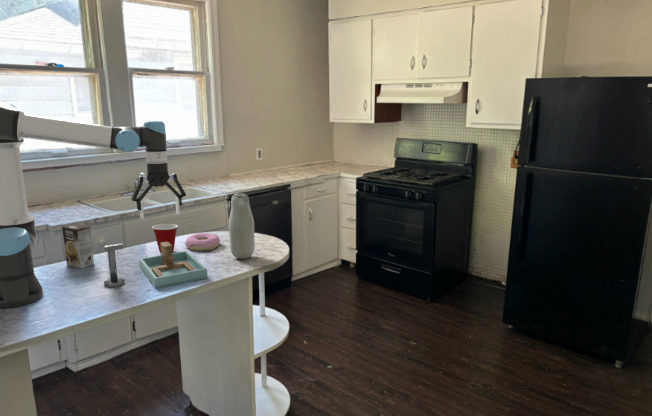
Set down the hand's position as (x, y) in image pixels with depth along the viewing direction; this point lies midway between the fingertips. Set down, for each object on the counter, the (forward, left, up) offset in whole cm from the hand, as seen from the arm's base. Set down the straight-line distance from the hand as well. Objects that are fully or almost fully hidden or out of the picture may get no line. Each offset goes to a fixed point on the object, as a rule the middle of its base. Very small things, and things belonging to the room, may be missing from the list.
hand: (160, 216), depth 187 cm
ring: (+1, -8, -20) cm, 22 cm away
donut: (+22, +18, -21) cm, 36 cm away
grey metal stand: (-20, -8, -21) cm, 30 cm away
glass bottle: (+31, -6, -21) cm, 38 cm away
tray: (+1, -8, -21) cm, 23 cm away
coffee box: (-28, +21, -21) cm, 41 cm away
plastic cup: (+6, +19, -21) cm, 29 cm away
